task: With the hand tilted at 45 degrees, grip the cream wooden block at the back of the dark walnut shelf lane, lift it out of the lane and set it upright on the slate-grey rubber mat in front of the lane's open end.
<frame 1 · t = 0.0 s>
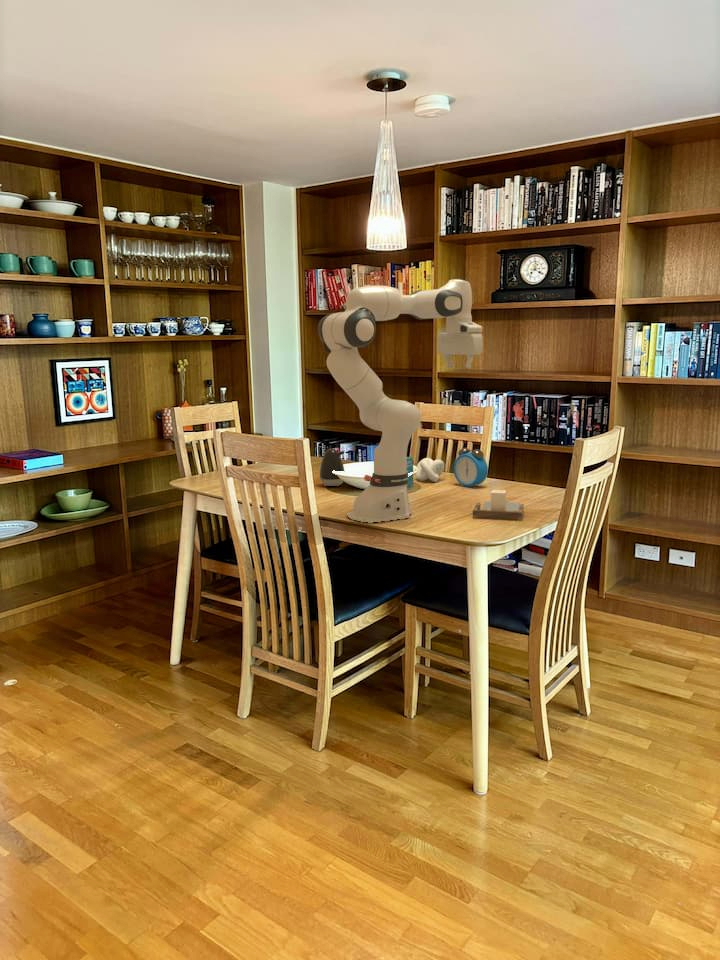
hand: (458, 367, 260), 48 cm above the table, tool pointing down, fingers open, 8 cm apart
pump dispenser: (332, 486, 300), on the table
cream block: (498, 515, 241), point 1 cm above the table, touching walnut lane
white decorative knot: (429, 481, 305), on the table
data package: (401, 488, 292), on the table
alarm clock: (470, 486, 294), on the table
walnut lane: (498, 518, 243), on the table
grey mat: (501, 510, 254), on the table
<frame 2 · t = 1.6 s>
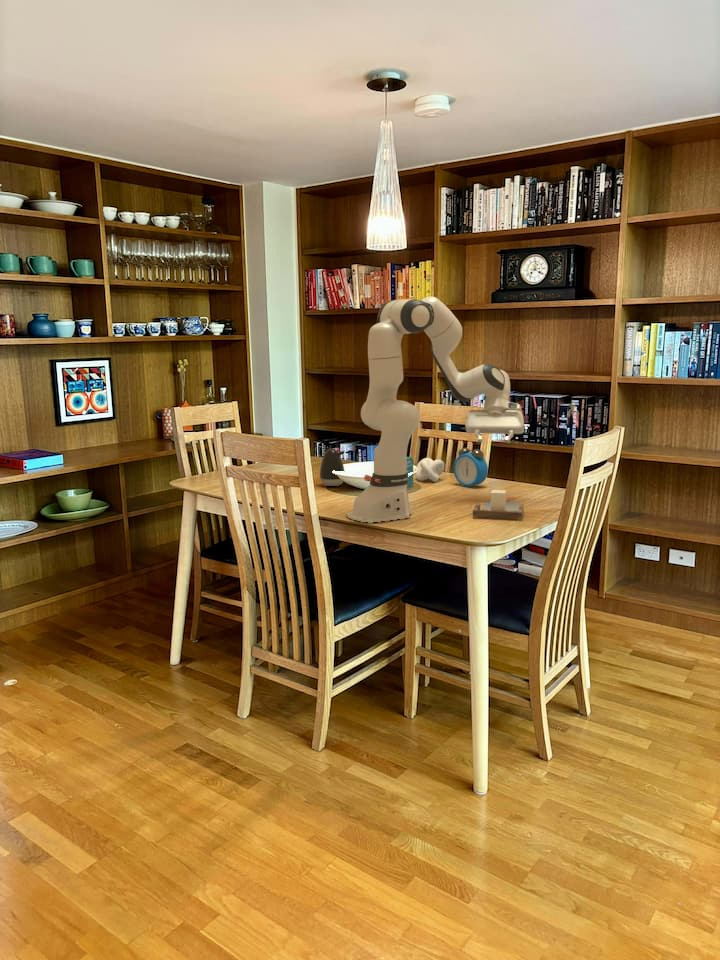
hand: (493, 441, 254), 23 cm above the table, tool tilted 45°, fingers open, 8 cm apart
nothing on the table moved.
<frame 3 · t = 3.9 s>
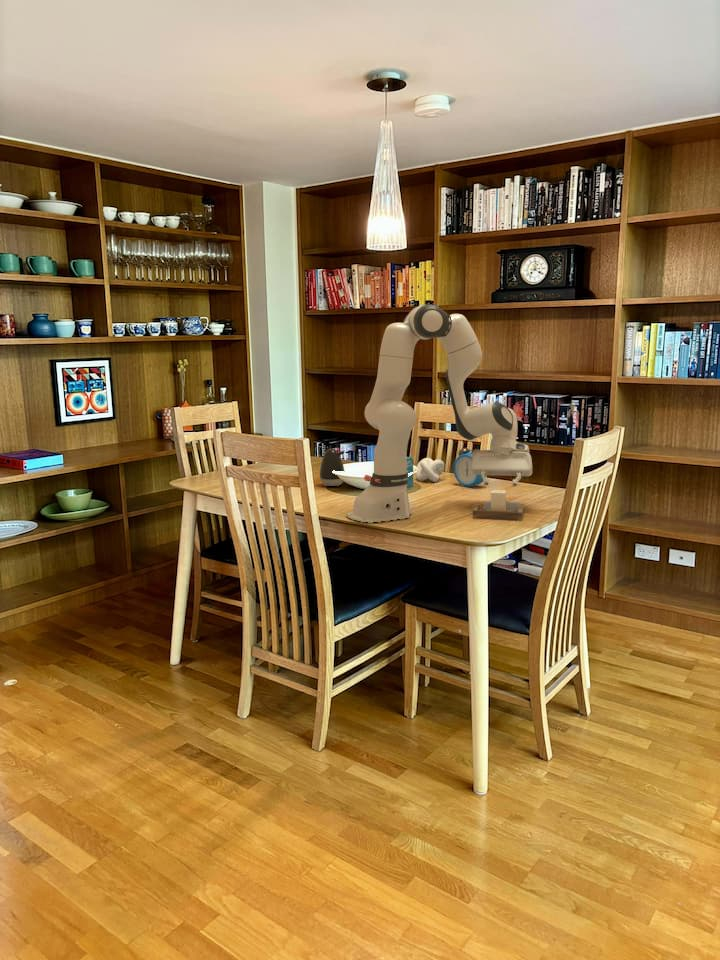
hand: (500, 484, 244), 11 cm above the table, tool tilted 45°, fingers open, 8 cm apart
nothing on the table moved.
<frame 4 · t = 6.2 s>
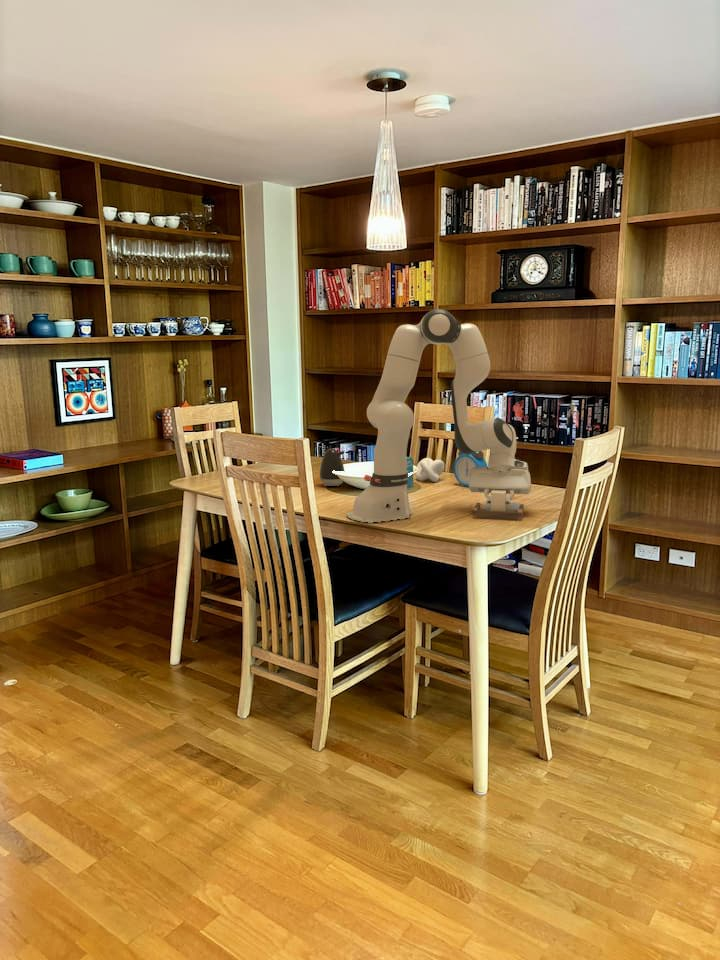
hand: (498, 502, 239), 6 cm above the table, tool tilted 45°, fingers closed on cream block, 4 cm apart
cream block: (498, 515, 241), point 2 cm above the table, touching gripper, walnut lane
everything else where it was.
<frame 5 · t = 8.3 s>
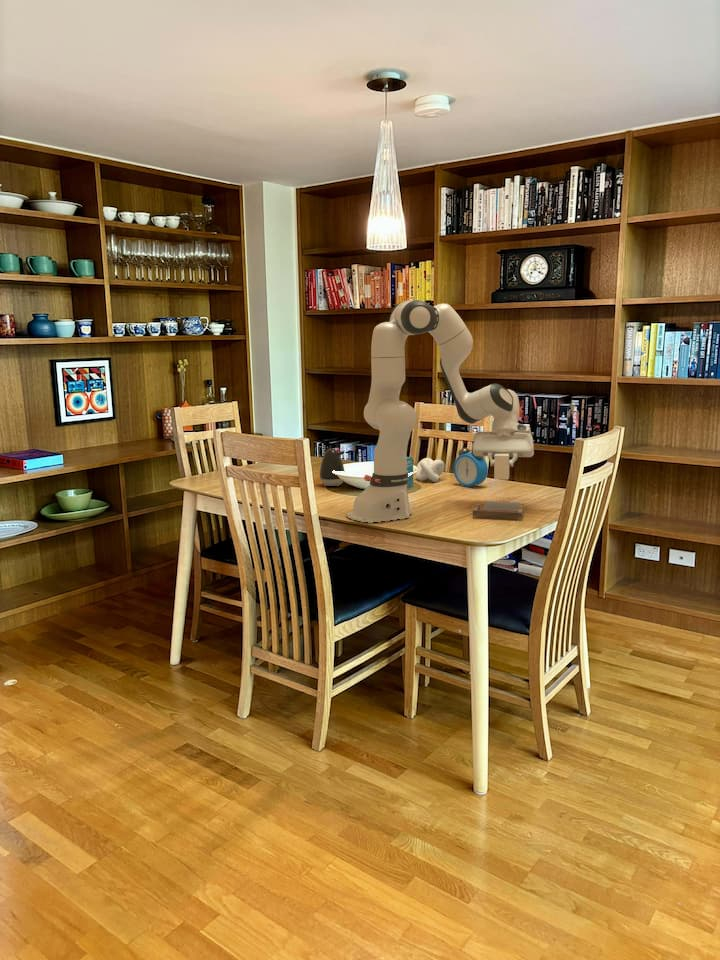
hand: (501, 465, 245), 17 cm above the table, tool tilted 45°, fingers closed on cream block, 4 cm apart
cream block: (501, 478, 246), point 12 cm above the table, touching gripper
everything else where it was.
when the fingers open (7 cm above the table, at t = 10.8 s): cream block drops 1 cm, resting on grey mat.
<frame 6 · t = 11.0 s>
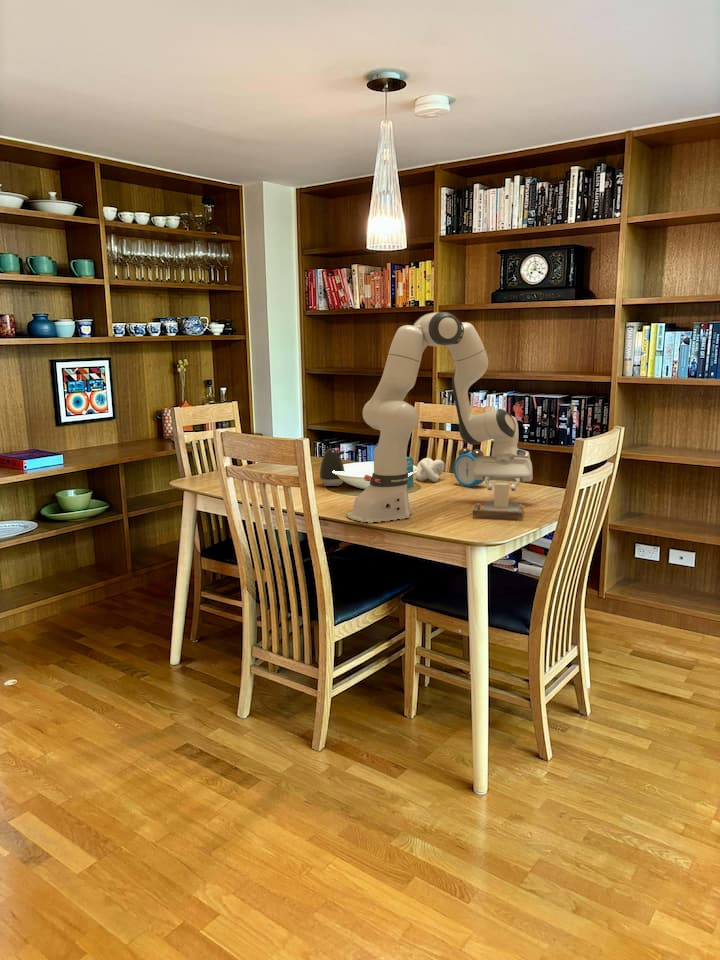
hand: (501, 489, 252), 7 cm above the table, tool tilted 45°, fingers open, 7 cm apart
cream block: (501, 506, 254), point 1 cm above the table, touching grey mat
everything else where it was.
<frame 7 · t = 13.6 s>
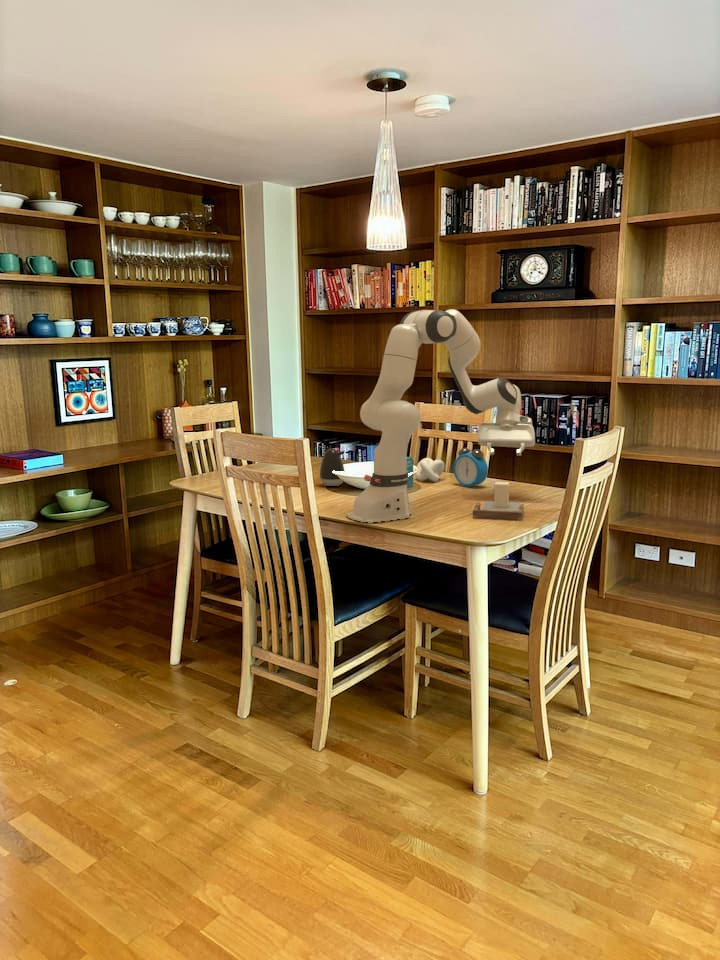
hand: (505, 454, 262), 17 cm above the table, tool tilted 45°, fingers open, 8 cm apart
nothing on the table moved.
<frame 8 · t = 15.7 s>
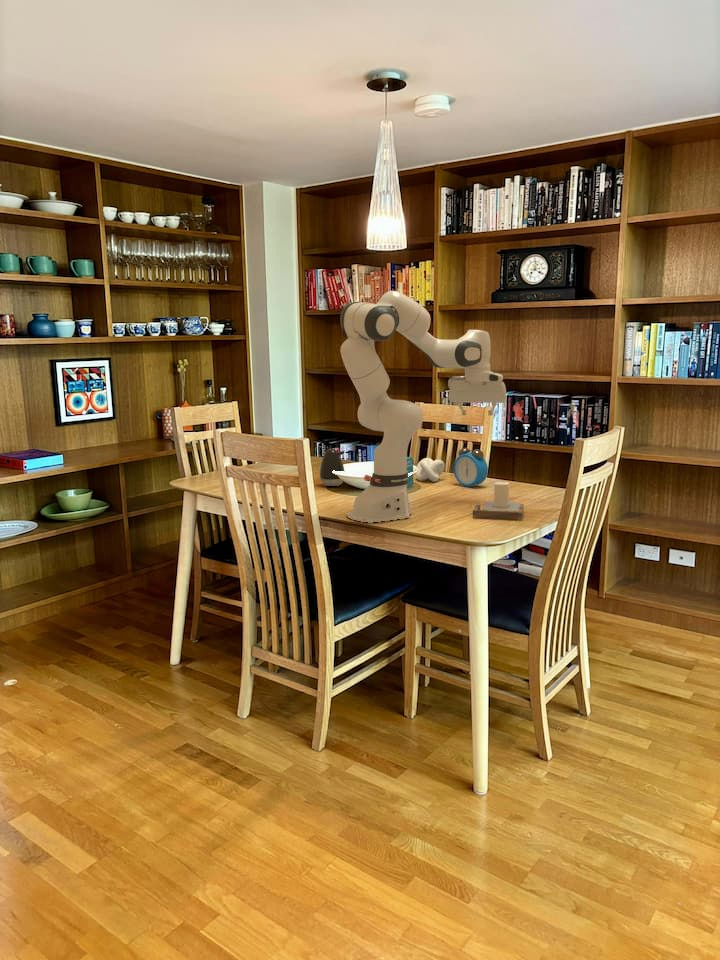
hand: (477, 415, 263), 31 cm above the table, tool pointing down, fingers open, 8 cm apart
nothing on the table moved.
at the end: cream block inside the target area on the grey mat (0.0 cm from its centre), point 1.5 cm above the grey mat's base; cream block tilted 0°; the gripper is holding nothing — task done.
